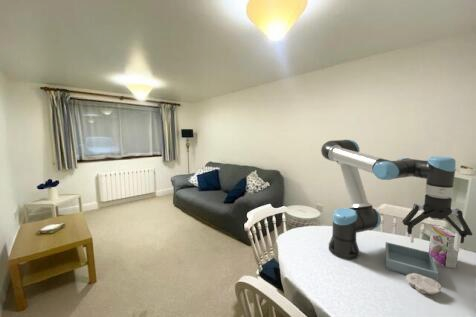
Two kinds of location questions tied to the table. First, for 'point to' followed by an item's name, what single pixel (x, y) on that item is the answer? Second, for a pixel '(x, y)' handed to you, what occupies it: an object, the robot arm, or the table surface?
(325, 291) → the table surface
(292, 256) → the table surface
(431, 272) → the bin
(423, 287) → the fossil
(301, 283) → the table surface
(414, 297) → the table surface
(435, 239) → the candy bar box
